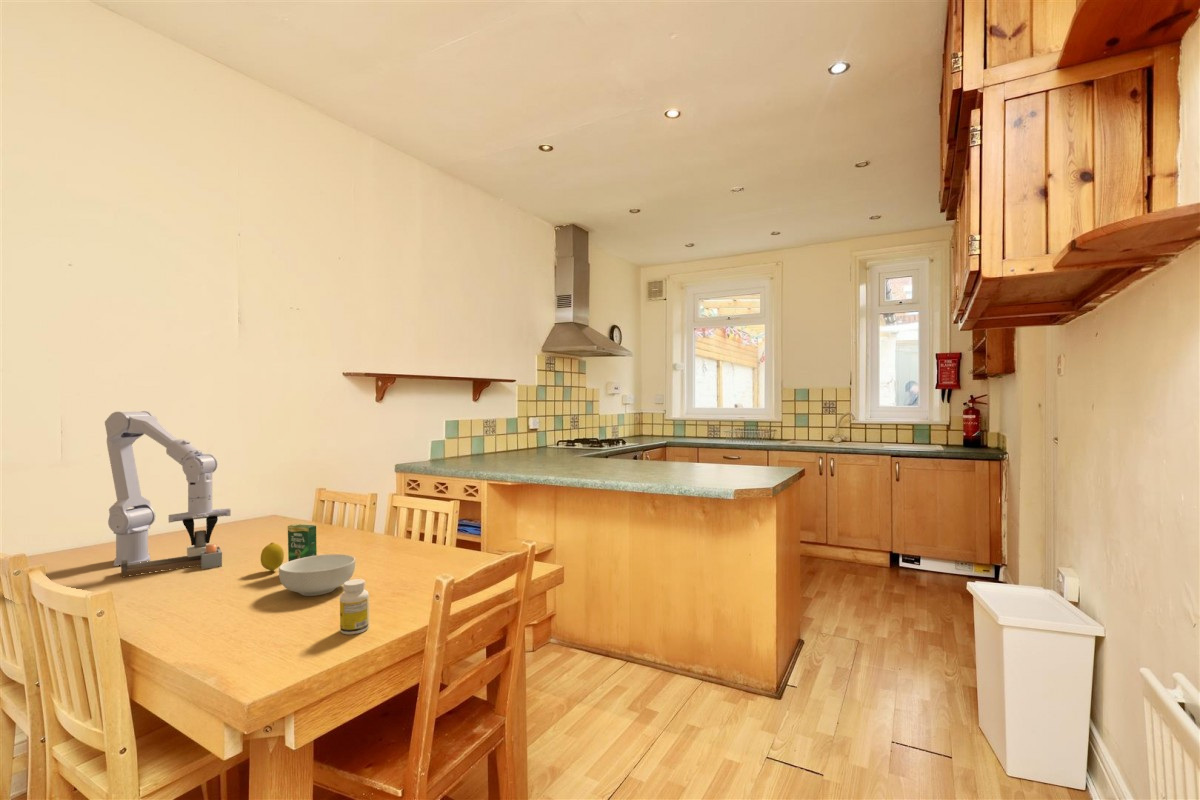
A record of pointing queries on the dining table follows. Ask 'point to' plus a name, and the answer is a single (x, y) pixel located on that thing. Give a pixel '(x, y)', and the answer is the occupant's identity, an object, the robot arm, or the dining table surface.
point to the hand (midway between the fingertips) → (200, 543)
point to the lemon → (272, 556)
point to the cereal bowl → (316, 573)
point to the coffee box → (301, 541)
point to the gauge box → (211, 559)
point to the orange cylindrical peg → (211, 548)
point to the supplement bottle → (354, 607)
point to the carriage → (198, 544)
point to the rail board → (159, 565)
